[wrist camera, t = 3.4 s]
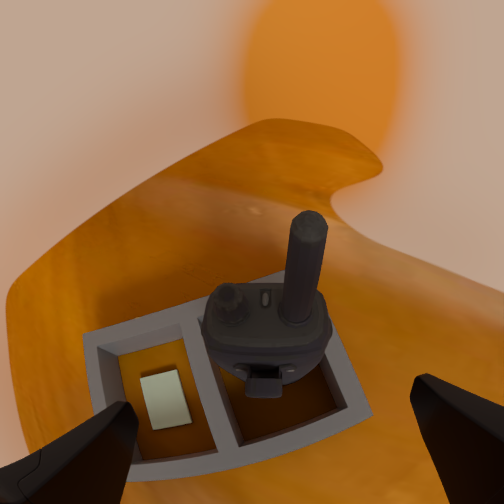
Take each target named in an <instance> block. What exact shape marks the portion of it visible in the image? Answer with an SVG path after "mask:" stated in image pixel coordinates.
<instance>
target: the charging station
mask: <svg viewBox="0 0 504 504" xmlns="http://www.w3.org/2000/svg"><path fill="white" fill-rule="evenodd" d="M284 275H285V270H282V271H280V272H277V273H274V274H271V275H268V276H265V277H262V278H259V279H256V280H253V281H250V282H248V283H284ZM316 290H317V289H316ZM209 296H210V295H208V296H205V297H202V298H199V299H196V300H193V301H190V302H187V303H184V304H181V305H177V306H174V307H171V308H168V309H165V310H161V311H158V312H155V313H152V314H149V315H145V316H142V317H136V318H134V319H132V320H129V321H126V322H122V323H119V324H115V325H112V326H109V327H105V328H102V329H98V330H95V331H91V332H88V333H84V334H83V345H84V355H85V363H86V371H87V378H88V384H89V390H90V396H91V401H92V406H93V411H94V416H95V415H96V414H98V413H99V412H101V411H102V410H104V409H105V408H107V407H108V406H110V405H111V404H113V403H114V402H116V401H119V400H120V401H126V398H125V394H124V389H123V384H122V379H121V374H120V368H119V363H118V357H117V356H119V355H123V354H127V353H131V352H135V351H138V350H142V349H146V348H150V347H153V346H157V345H160V344H164V343H168V342H171V341H174V340H178V339H181V338H183V339H184V343H185V347H186V351H187V355H188V358H189V362H190V366H191V369H192V373H193V376H194V380H195V383H196V387H197V390H198V393H199V396H200V400H201V403H202V406H203V409H204V412H205V415H206V418H207V421H208V424H209V427H210V430H211V433H212V436H213V439H214V441H215V444H216V447H217V449H212V450H207V451H203V452H198V453H192V454H187V455H181V456H174V457H167V458H159V459H151V460H143V459H142V456H141V453H140V450H139V447H138V444H137V440H136V442H135V447H134V453H133V458H132V463H131V466H130V470H129V473H128V476H127V480H126V482H138V481H155V480H166V479H176V478H183V477H191V476H197V475H203V474H209V473H214V472H219V471H224V470H228V469H233V468H237V467H241V466H245V465H249V464H253V463H256V462H260V461H263V460H267V459H270V458H273V457H276V456H280V455H283V454H286V453H289V452H291V451H294V450H297V449H300V448H302V447H305V446H308V445H310V444H313V443H315V442H318V441H320V440H323V439H325V438H327V437H330V436H332V435H334V434H337V433H339V432H341V431H343V430H345V429H347V428H349V427H352V426H354V425H356V424H358V423H360V422H362V421H364V420H366V419H367V418H369V417H371V416H373V413H372V411H371V408H370V406H369V404H368V401H367V399H366V396H365V394H364V392H363V389H362V387H361V385H360V382H359V380H358V378H357V375H356V373H355V371H354V369H353V366H352V364H351V362H350V360H349V357H348V355H347V353H346V351H345V348H344V346H343V344H342V342H341V340H340V337H339V335H338V333H337V331H336V329H335V327H334V324H333V322H332V320H331V322H332V328H333V334H332V337H331V338H330V340H329V342H328V345H327V347H326V349H325V352H324V356H323V358H322V359H321V361H320V362H319V365H320V368H321V370H322V373H323V375H324V377H325V380H326V382H327V384H328V387H329V389H330V392H331V394H332V396H333V399H334V401H335V404H336V406H337V408H336V409H333V410H331V411H329V412H327V413H324V414H322V415H319V416H317V417H315V418H312V419H310V420H307V421H305V422H302V423H299V424H297V425H294V426H291V427H289V428H286V429H283V430H280V431H277V432H274V433H271V434H268V435H265V436H262V437H258V438H255V439H252V440H248V441H244V439H243V436H242V433H241V430H240V428H239V425H238V422H237V419H236V417H235V414H234V411H233V408H232V405H231V402H230V399H229V397H228V394H227V391H226V388H225V385H224V382H223V379H222V375H221V372H220V369H219V366H218V364H216V363H215V362H214V361H213V359H212V358H211V357H210V356H209V355H208V353H207V348H206V345H205V342H204V339H203V336H202V335H201V326H202V322H203V317H204V312H205V308H206V303H207V300H208V298H209ZM328 315H329V314H328ZM329 317H330V316H329ZM330 319H331V318H330ZM140 382H141V386H142V390H143V394H144V399H145V403H146V406H147V410H148V414H149V418H150V421H151V425H152V428H153V430H156V429H162V428H168V427H173V426H178V425H183V424H188V423H193V421H192V418H191V414H190V411H189V408H188V405H187V401H186V398H185V395H184V391H183V388H182V384H181V380H180V377H179V373H178V370H177V369H176V370H172V371H168V372H164V373H160V374H156V375H152V376H148V377H144V378H140Z"/></svg>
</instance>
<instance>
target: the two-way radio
mask: <svg viewBox="0 0 504 504" xmlns="http://www.w3.org/2000/svg"><path fill="white" fill-rule="evenodd" d="M327 231H328V225H327V223H326V221H325V219H324V218H323V216H322V215H320V214H319V213H317V212H315V211H310V210H308V211H303V212H301V213H300V214H299V215H297V216H296V217H295V218H294V219H293V220H292V223H291V227H290V235H289V244H288V252H287V259H286V267H285V275H284V283H239V284H233V283H223V284H221V285H219V286H217V288H216V289H215V291H214V292H213V293H211V294H210V296H209V298H208V300H207V303H206V308H205V312H204V317H203V322H202V326H201V335H202V336H203V339H204V342H205V345H206V348H207V353H208V355H209V356H210V357H211V358H212V359H213V361H214V362H215V363H216V364H218V365H219V366H220V367H221V368H223V369H225V370H226V371H228V372H229V373H231V374H232V375H234V376H236V377H238V378H239V379H241V380H243V381H244V382H246V383H245V395H246V396H247V397H252V398H279V397H281V396H282V385H287V384H291V383H294V382H296V381H297V380H299V379H301V378H302V377H303V376H305V375H306V374H307V373H309V372H310V371H311V370H312V369H314V368H315V367H316V365H317V364H318V363H319V362H320V361H321V359H322V358H323V356H324V352H325V349H326V347H327V345H328V342H329V340H330V338H331V337H332V334H333V328H332V322H331V319H330V317H329V315H328V311H327V306H326V302H325V300H324V297H323V295H322V294H321V293H320V292H319V291H318V290H316V289H317V285H318V281H319V276H320V271H321V265H322V260H323V255H324V249H325V243H326V237H327Z"/></svg>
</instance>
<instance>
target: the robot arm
mask: <svg viewBox="0 0 504 504" xmlns="http://www.w3.org/2000/svg"><path fill="white" fill-rule="evenodd" d="M410 402H411V405H412V408H413V410H414V413H415V416H416V419H417V423H418V426H419V429H420V432H421V435H422V437H423V440H424V442H425V444H426V447H427V449H428V451H429V453H430V456H431V458H432V460H433V463H434V465H435V467H436V470H437V472H438V475H439V477H440V480H441V482H442V485H443V487H444V490H445V492H446V495H447V498H448V500H449V503H450V504H504V406H501V405H499V404H496V403H494V402H492V401H489V400H487V399H484V398H482V397H480V396H477V395H475V394H473V393H471V392H468V391H466V390H464V389H461V388H459V387H457V386H455V385H452V384H450V383H448V382H446V381H444V380H441V379H439V378H437V377H435V376H433V375H430V374H428V373H425V374H422V375H419V376H416V378H415V379H414V383H413V386H412V390H411V393H410ZM138 426H139V421H138V417H137V415H136V413H135V411H134V409H133V407H132V405H131V404H130V403H129V402H127V401H120V400H119V401H116V402H114V403H113V404H111V405H110V406H108V407H107V408H105V409H104V410H102V411H101V412H99V413H98V414H96V415H95V416H93V417H91V418H90V419H88V420H87V421H85V422H84V423H82V424H80V425H79V426H77V427H76V428H74V429H72V430H71V431H69V432H68V433H66V434H64V435H63V436H61V437H59V438H58V439H56V440H54V441H53V442H51V443H49V444H48V445H46V446H44V447H43V448H42V449H39V450H37V451H36V452H34V453H32V454H30V455H28V456H27V457H25V458H23V459H21V460H18V461H16V462H14V463H12V464H10V465H7V466H4V467H2V468H0V504H120V501H121V497H122V494H123V490H124V487H125V483H126V480H127V476H128V473H129V470H130V466H131V463H132V458H133V453H134V447H135V442H136V436H137V431H138Z"/></svg>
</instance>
